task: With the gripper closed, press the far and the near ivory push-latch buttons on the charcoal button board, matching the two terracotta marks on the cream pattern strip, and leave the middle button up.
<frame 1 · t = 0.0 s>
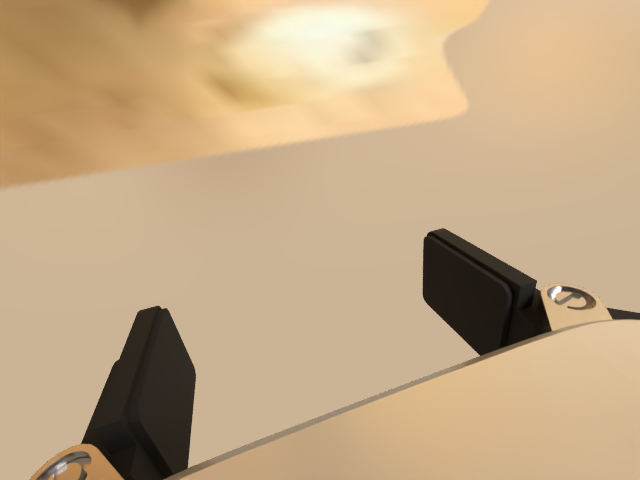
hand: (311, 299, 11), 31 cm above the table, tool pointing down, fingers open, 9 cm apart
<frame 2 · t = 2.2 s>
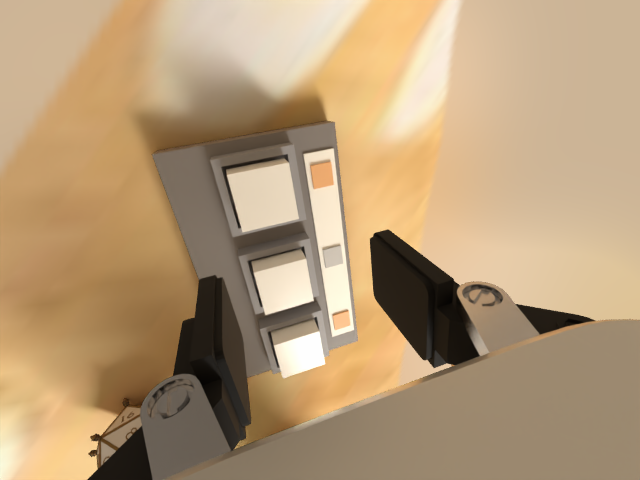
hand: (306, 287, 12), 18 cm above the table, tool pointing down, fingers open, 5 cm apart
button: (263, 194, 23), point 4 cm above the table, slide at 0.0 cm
button board: (275, 259, 30), on the table
game die: (149, 407, 34), on the table
middle button: (283, 281, 27), point 4 cm above the table, slide at 0.0 cm
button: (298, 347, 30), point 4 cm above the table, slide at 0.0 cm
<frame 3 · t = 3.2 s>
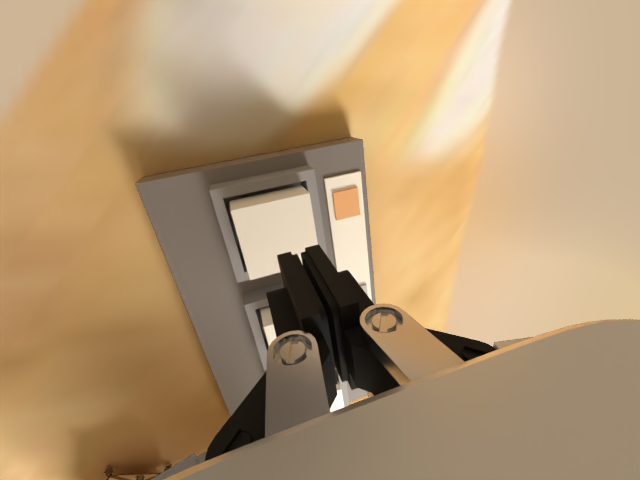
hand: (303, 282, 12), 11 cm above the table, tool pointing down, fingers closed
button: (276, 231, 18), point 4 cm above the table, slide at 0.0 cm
button board: (287, 300, 26), on the table
game die: (137, 473, 28), on the table
middle button: (298, 333, 22), point 4 cm above the table, slide at 0.0 cm
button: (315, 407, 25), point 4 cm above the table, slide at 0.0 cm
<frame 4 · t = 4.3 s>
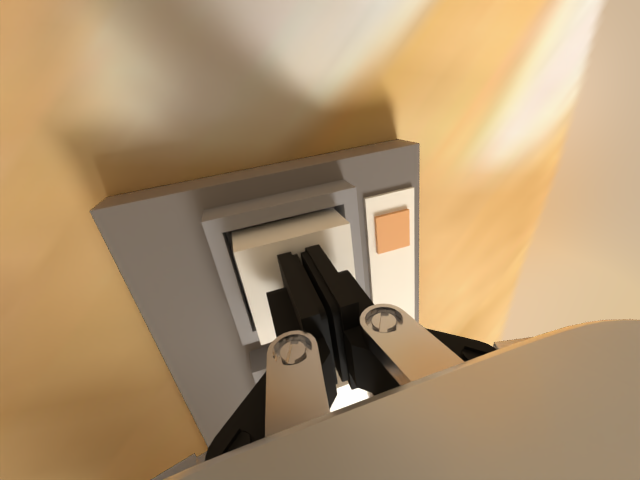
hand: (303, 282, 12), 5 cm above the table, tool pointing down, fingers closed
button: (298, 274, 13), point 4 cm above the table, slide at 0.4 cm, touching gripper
button board: (305, 349, 20), on the table
middle button: (325, 404, 16), point 4 cm above the table, slide at 0.0 cm
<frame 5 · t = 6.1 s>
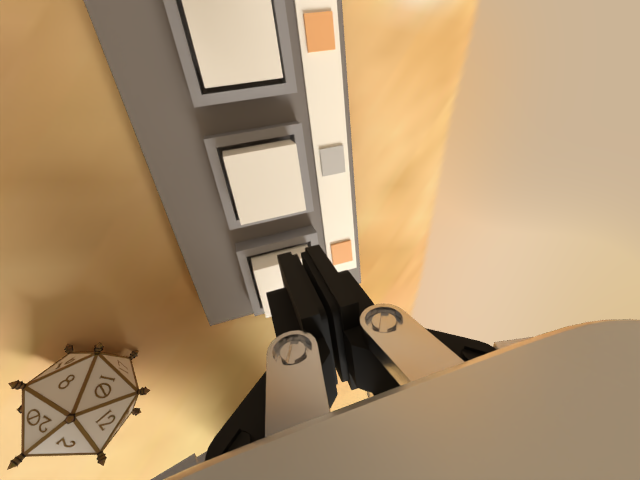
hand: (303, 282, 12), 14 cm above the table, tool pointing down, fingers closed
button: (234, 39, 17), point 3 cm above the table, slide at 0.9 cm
button board: (258, 167, 24), on the table
game die: (102, 358, 27), on the table
middle button: (265, 181, 20), point 4 cm above the table, slide at 0.0 cm
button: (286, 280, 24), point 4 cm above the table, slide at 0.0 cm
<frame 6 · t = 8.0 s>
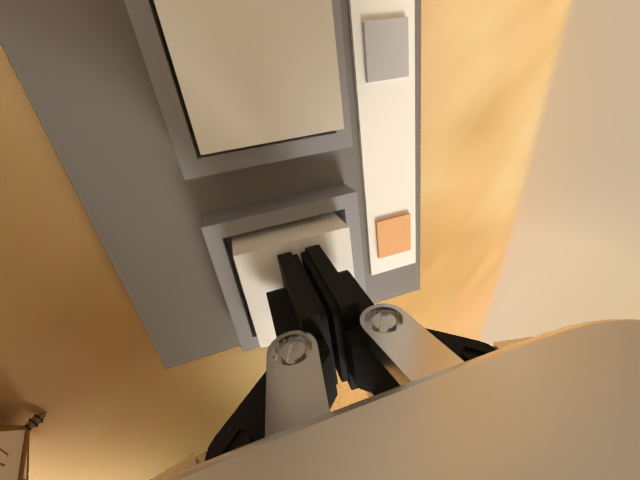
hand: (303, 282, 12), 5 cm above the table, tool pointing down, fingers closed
button board: (245, 74, 13), on the table
middle button: (255, 61, 9), point 4 cm above the table, slide at 0.0 cm
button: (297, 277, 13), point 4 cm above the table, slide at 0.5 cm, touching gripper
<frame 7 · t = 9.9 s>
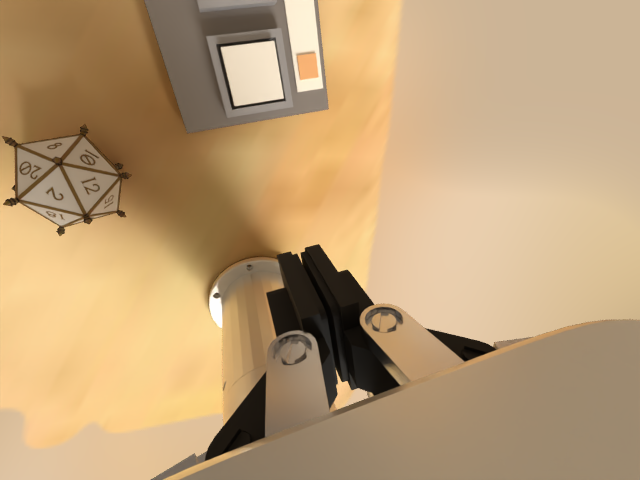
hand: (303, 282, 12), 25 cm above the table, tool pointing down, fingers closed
game die: (89, 169, 30), on the table
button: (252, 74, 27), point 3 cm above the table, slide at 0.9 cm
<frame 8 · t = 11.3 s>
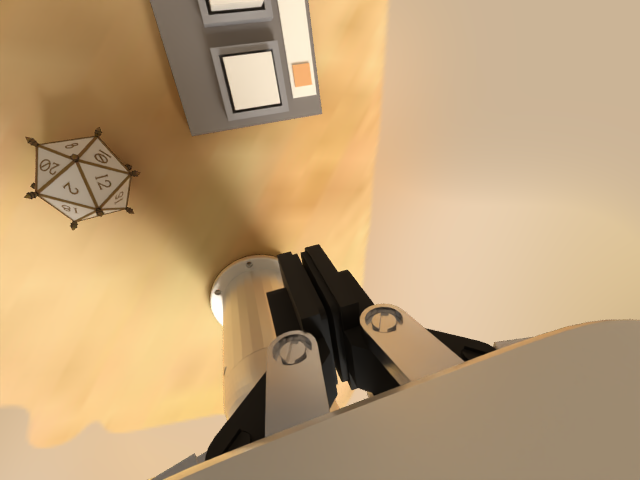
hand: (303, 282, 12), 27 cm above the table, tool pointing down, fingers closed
game die: (101, 170, 32), on the table
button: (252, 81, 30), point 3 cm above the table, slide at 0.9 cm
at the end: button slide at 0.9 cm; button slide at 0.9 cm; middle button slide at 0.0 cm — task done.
